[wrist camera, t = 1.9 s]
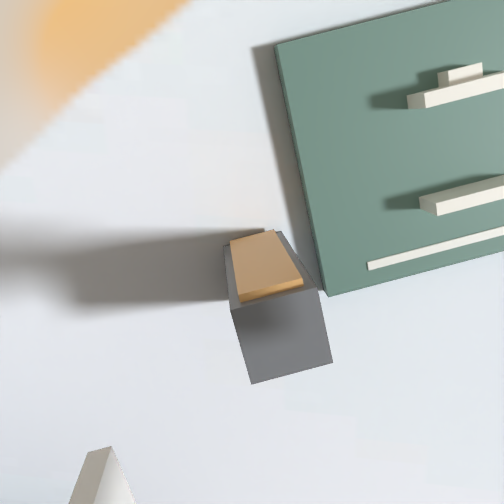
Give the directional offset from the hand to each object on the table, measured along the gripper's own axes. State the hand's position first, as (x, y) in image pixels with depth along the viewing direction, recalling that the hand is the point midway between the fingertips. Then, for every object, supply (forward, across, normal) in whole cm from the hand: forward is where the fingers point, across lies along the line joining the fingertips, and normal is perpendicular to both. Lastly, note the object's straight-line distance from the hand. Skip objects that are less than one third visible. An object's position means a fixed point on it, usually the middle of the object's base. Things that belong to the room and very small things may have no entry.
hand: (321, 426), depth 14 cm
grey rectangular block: (+16, 0, 0) cm, 16 cm away
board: (+16, +14, +5) cm, 22 cm away
